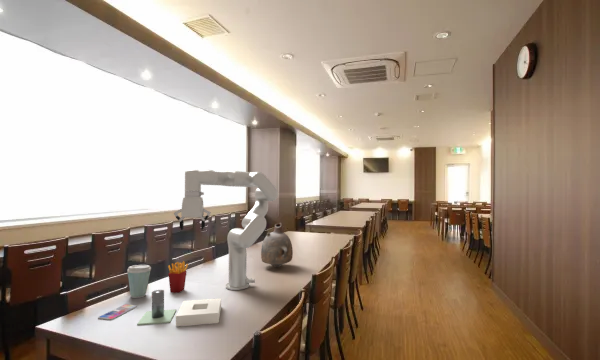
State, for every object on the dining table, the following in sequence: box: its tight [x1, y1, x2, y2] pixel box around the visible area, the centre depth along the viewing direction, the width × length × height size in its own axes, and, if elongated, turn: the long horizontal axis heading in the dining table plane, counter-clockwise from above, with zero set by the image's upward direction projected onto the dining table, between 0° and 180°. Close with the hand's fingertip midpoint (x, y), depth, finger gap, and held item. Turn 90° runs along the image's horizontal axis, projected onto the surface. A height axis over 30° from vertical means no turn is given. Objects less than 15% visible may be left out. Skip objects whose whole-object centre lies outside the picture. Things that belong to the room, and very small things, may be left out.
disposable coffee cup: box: [126, 264, 152, 299], centre depth 150 cm, size 11×11×15 cm
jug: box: [260, 222, 294, 268], centre depth 204 cm, size 24×21×30 cm
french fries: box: [167, 260, 189, 294], centre depth 158 cm, size 9×8×15 cm
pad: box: [136, 309, 177, 326], centre depth 124 cm, size 12×12×1 cm
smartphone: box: [97, 303, 138, 321], centre depth 129 cm, size 7×1×15 cm
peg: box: [151, 289, 165, 318], centre depth 124 cm, size 5×5×10 cm
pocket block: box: [175, 297, 222, 327], centre depth 126 cm, size 16×16×4 cm
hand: (192, 229), depth 149 cm, fingers open, 9 cm apart
